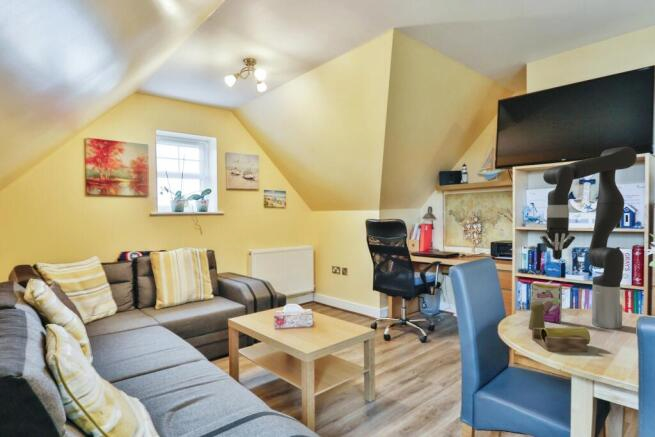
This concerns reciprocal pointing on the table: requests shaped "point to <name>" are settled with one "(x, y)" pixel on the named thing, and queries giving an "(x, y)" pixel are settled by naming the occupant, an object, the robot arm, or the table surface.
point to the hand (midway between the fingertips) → (557, 259)
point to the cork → (536, 315)
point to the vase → (565, 333)
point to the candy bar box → (548, 299)
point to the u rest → (560, 342)
